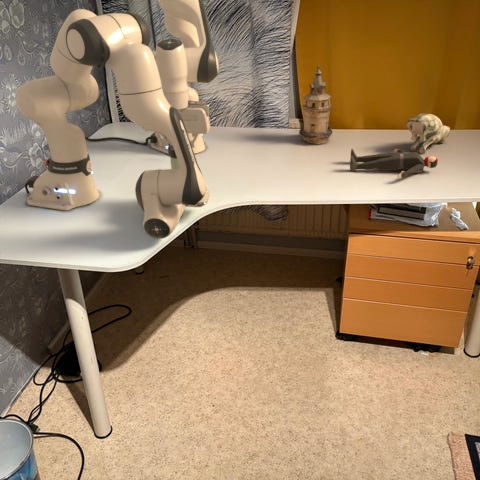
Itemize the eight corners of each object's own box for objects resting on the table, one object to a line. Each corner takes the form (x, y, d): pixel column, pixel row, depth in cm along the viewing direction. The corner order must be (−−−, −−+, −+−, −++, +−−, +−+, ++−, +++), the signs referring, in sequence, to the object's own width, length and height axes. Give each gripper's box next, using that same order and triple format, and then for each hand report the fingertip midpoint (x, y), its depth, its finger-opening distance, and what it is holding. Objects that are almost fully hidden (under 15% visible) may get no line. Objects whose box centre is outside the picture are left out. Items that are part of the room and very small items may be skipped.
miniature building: (320, 132, 228) (325, 59, 214) (338, 142, 217) (344, 66, 203) (293, 137, 224) (296, 63, 209) (310, 147, 213) (314, 69, 198)
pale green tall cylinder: (191, 203, 169) (188, 149, 161) (177, 207, 168) (172, 152, 159) (186, 198, 173) (182, 144, 164) (171, 201, 171) (167, 147, 162)
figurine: (436, 165, 204) (461, 137, 213) (424, 121, 195) (451, 94, 204) (414, 164, 211) (439, 137, 220) (401, 122, 202) (428, 96, 211)
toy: (351, 141, 203) (434, 141, 197) (350, 156, 206) (432, 157, 200) (349, 166, 181) (443, 167, 175) (349, 183, 184) (441, 185, 178)
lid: (190, 156, 161) (190, 148, 160) (172, 159, 159) (171, 151, 158) (183, 150, 166) (183, 142, 165) (165, 153, 164) (165, 145, 162)
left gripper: (205, 195, 154) (213, 176, 166) (135, 192, 156) (148, 174, 168) (206, 215, 157) (213, 195, 169) (138, 212, 159) (150, 192, 171)
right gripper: (211, 98, 155) (213, 144, 162) (145, 96, 159) (149, 141, 166) (206, 104, 150) (208, 151, 156) (137, 101, 153) (142, 148, 160)
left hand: (180, 184), depth 168 cm, fingers closed on pale green tall cylinder, 5 cm apart
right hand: (177, 146), depth 161 cm, fingers open, 8 cm apart
